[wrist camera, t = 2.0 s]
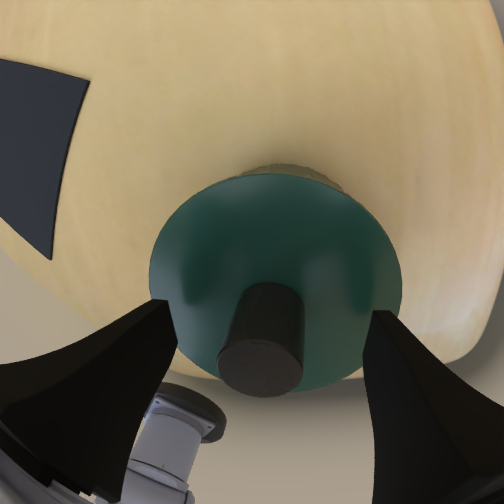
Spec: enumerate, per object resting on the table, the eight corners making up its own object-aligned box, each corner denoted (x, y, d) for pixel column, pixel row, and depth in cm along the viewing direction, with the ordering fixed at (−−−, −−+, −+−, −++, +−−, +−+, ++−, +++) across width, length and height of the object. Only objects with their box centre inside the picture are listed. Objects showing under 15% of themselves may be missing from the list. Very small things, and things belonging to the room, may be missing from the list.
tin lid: (306, 399, 14) (301, 464, 10) (138, 316, 13) (94, 372, 10) (439, 258, 10) (489, 319, 6) (216, 120, 9) (159, 113, 5)
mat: (51, 259, 21) (49, 260, 21) (-33, 179, 20) (-35, 180, 20) (90, 81, 14) (87, 81, 14) (-11, 57, 13) (-13, 57, 13)
